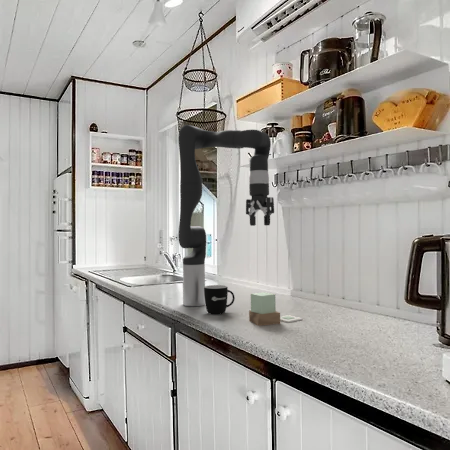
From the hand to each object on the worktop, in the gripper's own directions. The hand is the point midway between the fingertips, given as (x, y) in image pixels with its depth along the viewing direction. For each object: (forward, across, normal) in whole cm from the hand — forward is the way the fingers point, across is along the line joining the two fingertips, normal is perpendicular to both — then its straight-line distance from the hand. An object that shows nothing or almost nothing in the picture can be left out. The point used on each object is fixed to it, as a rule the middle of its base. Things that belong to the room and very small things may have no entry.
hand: (259, 225), depth 164 cm
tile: (+33, +16, -1) cm, 37 cm away
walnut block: (+34, +14, -10) cm, 38 cm away
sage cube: (+30, +14, -10) cm, 34 cm away
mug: (+33, -9, -13) cm, 37 cm away
